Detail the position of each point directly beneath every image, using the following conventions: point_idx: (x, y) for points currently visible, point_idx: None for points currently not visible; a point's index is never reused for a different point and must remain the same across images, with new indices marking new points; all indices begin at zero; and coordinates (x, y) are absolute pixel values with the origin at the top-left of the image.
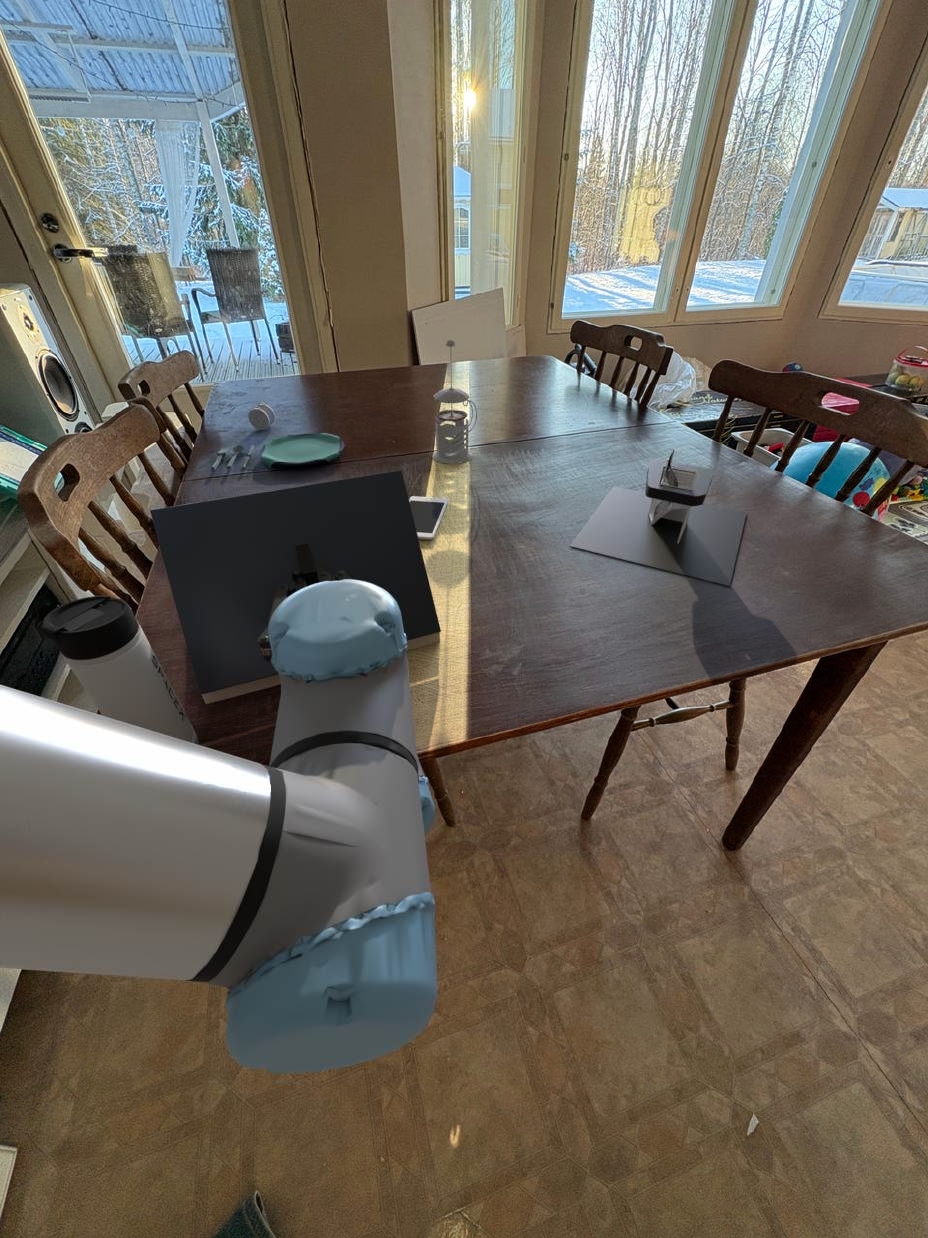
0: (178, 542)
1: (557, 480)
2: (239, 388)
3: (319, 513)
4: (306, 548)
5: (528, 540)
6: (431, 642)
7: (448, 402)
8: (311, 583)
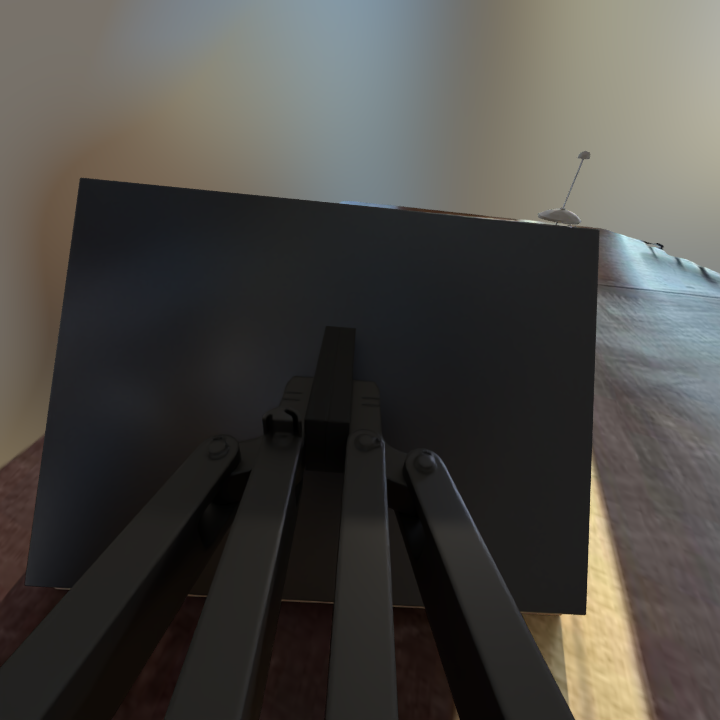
0: (106, 254)
1: (679, 337)
2: (352, 204)
3: (400, 272)
4: (347, 339)
5: (676, 415)
6: (543, 613)
7: (557, 221)
8: (323, 449)
